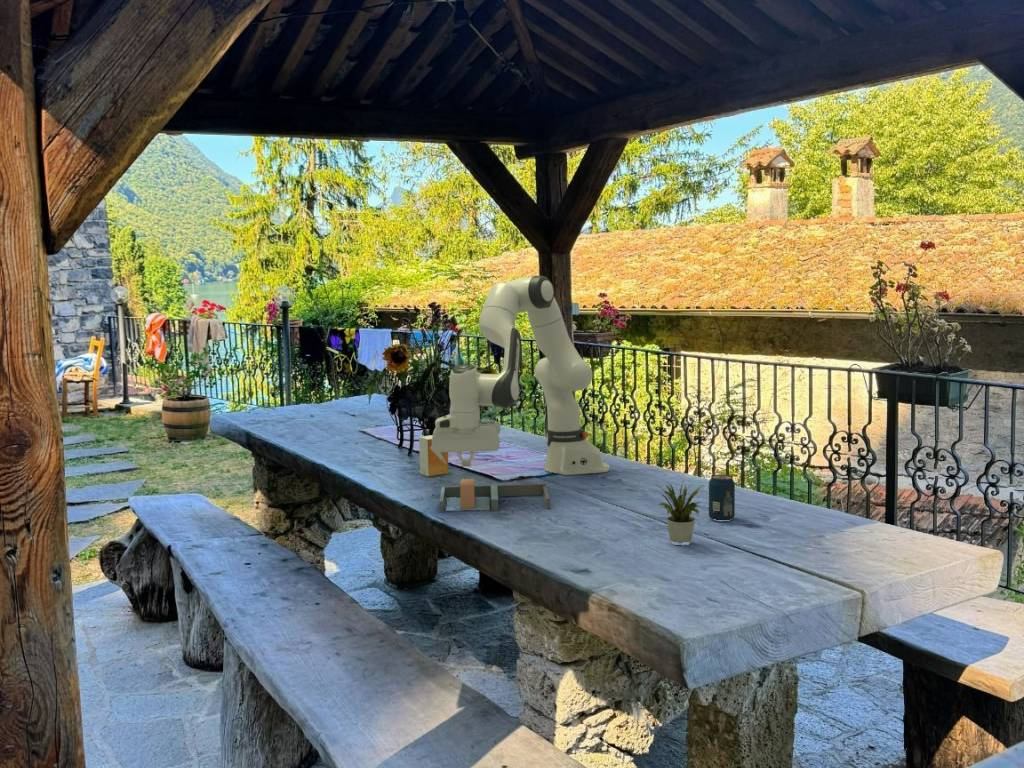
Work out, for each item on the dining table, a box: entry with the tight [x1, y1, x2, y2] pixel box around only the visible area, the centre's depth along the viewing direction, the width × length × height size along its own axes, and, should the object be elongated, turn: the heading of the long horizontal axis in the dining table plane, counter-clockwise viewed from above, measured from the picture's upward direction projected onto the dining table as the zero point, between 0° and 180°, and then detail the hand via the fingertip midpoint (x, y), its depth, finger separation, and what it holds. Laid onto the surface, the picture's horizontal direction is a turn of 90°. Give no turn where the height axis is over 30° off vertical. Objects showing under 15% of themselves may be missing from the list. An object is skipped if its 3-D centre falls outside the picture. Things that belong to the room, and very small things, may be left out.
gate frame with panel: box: [439, 483, 551, 512], centre depth 277 cm, size 32×17×4 cm, turn 92°
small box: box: [418, 434, 450, 477], centre depth 318 cm, size 8×6×13 cm
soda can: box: [708, 474, 736, 520], centre depth 253 cm, size 7×7×12 cm
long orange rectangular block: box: [459, 478, 475, 509], centre depth 276 cm, size 4×12×6 cm, turn 2°
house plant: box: [649, 479, 705, 543], centre depth 233 cm, size 14×14×16 cm
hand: (466, 466), depth 275 cm, fingers closed
